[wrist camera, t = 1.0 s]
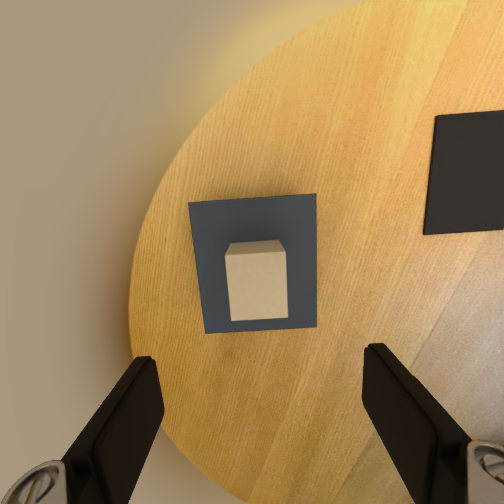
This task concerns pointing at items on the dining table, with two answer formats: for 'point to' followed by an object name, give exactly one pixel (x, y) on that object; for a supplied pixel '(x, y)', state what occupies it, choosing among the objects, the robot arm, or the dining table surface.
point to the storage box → (248, 230)
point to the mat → (466, 174)
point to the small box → (257, 280)
